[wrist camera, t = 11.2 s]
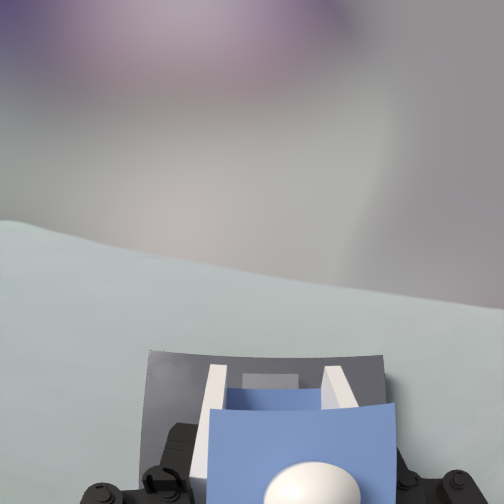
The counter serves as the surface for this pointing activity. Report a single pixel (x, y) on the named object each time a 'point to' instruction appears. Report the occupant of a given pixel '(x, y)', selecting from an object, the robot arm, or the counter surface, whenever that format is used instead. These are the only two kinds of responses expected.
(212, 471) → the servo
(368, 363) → the plate
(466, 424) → the counter surface
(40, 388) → the counter surface
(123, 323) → the counter surface
